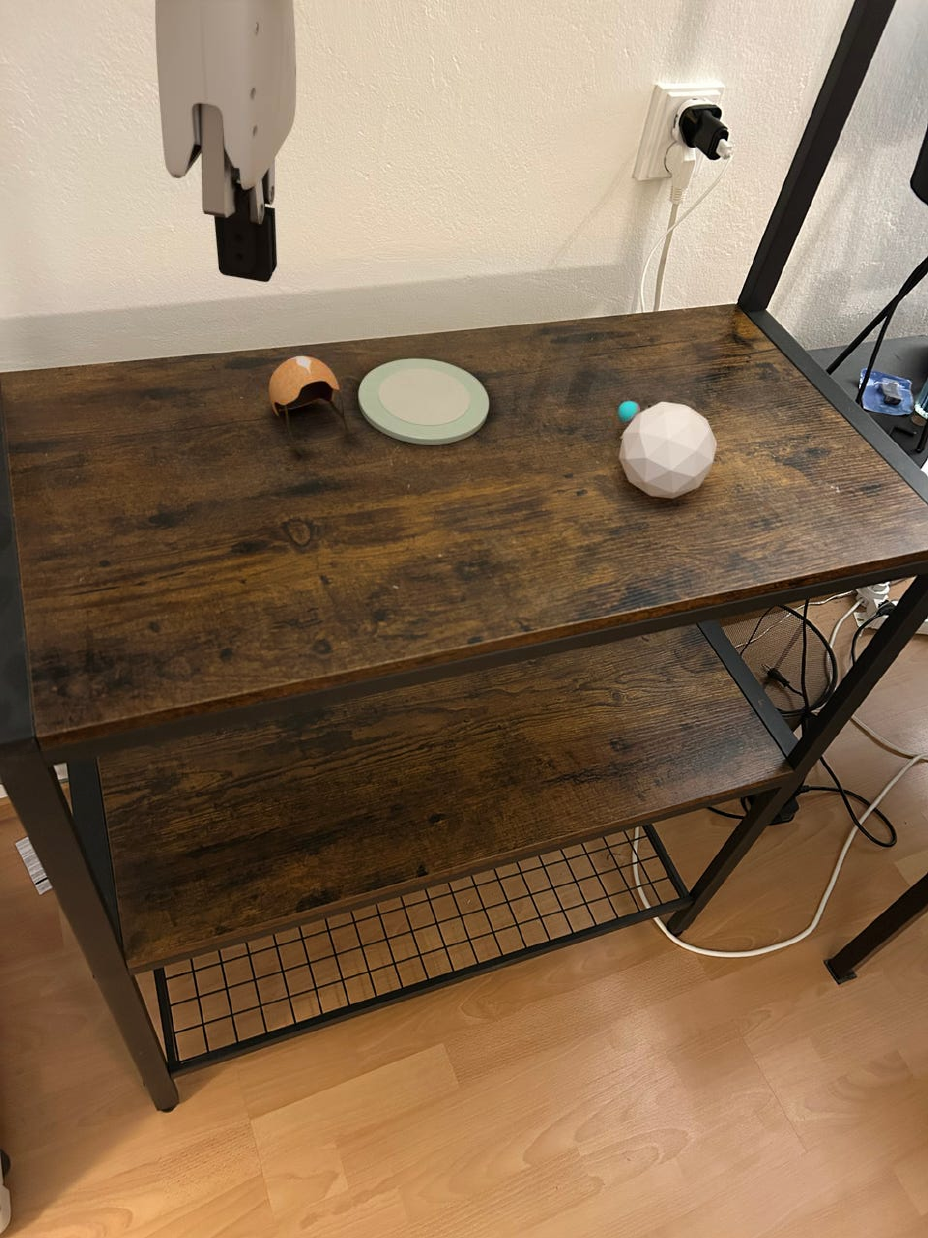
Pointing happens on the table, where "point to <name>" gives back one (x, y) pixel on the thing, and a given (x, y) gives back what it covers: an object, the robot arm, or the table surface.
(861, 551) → the table surface
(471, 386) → the plate
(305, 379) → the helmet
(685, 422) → the perfume bottle
